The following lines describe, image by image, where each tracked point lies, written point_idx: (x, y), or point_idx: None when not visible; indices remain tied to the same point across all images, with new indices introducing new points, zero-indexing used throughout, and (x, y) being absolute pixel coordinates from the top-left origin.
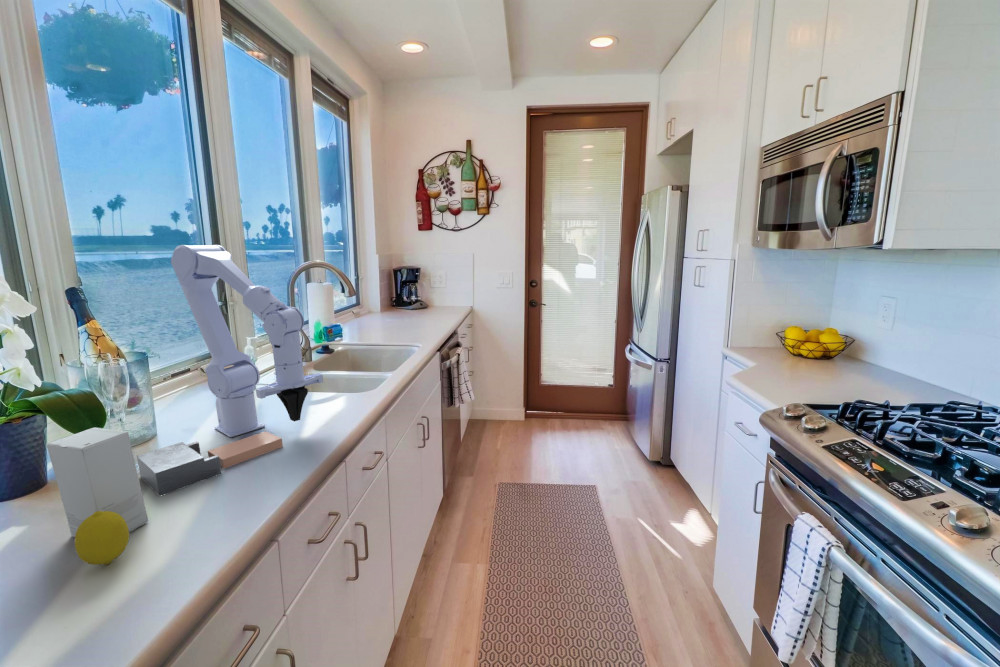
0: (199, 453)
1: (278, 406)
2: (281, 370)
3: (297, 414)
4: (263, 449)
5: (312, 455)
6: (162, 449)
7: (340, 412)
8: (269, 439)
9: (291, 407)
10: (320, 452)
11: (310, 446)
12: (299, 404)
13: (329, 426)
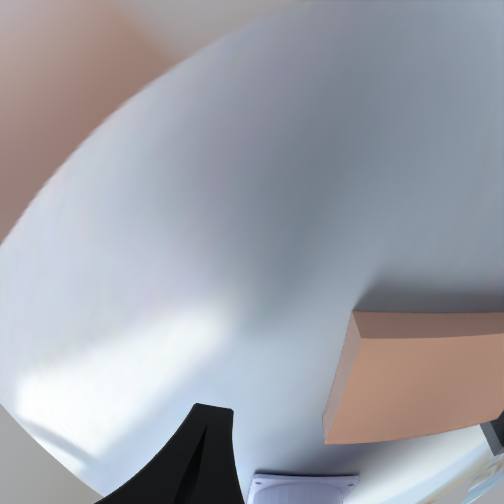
0: (492, 424)
1: None
2: None
3: (202, 435)
4: (442, 323)
5: (344, 67)
6: None
7: (33, 363)
8: (392, 371)
9: (240, 497)
10: (294, 58)
11: (276, 179)
12: (164, 487)
13: (87, 309)
